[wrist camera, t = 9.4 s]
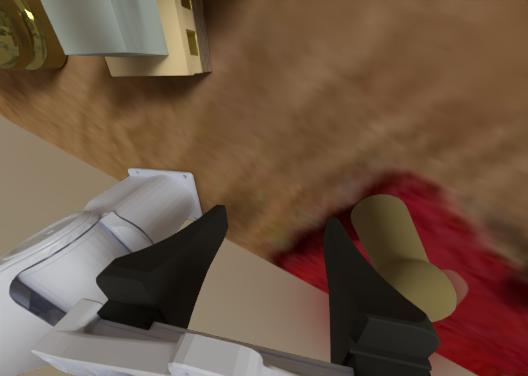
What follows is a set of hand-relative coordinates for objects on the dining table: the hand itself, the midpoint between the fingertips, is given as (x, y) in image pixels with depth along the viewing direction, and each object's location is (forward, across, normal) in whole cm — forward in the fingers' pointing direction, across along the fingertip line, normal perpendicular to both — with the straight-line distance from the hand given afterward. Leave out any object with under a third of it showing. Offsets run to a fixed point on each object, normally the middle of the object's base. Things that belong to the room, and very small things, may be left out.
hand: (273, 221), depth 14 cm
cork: (+10, -11, +6) cm, 16 cm away
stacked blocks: (+8, +11, -12) cm, 18 cm away
